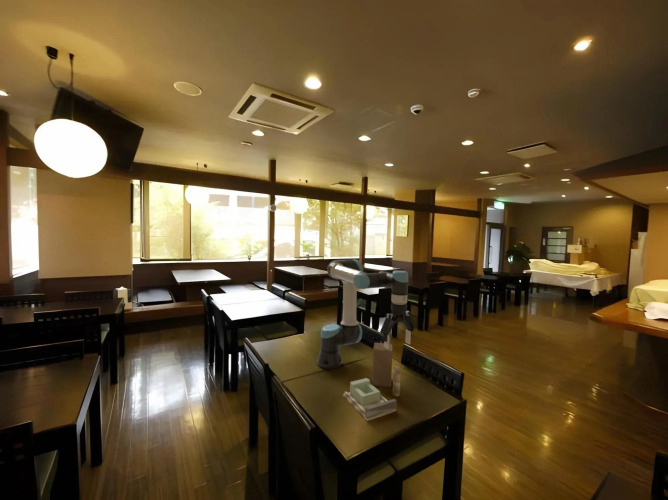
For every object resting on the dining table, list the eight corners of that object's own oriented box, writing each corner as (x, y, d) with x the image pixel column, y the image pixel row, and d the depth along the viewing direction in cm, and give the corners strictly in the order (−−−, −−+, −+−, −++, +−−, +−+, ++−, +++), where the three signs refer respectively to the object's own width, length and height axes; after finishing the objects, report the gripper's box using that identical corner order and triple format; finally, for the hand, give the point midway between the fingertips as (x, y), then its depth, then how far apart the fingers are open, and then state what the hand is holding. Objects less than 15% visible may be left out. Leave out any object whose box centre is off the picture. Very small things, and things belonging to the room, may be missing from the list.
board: (343, 395, 140) (343, 386, 139) (369, 388, 147) (369, 379, 147) (367, 421, 121) (367, 409, 121) (395, 411, 129) (396, 400, 128)
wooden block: (391, 388, 148) (392, 351, 147) (372, 385, 150) (373, 349, 149) (391, 378, 158) (392, 343, 157) (373, 376, 160) (374, 342, 159)
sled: (349, 393, 140) (350, 382, 139) (366, 389, 144) (366, 377, 144) (362, 406, 130) (362, 393, 130) (379, 400, 135) (379, 388, 134)
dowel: (390, 393, 143) (391, 366, 142) (396, 391, 145) (397, 365, 144) (395, 397, 140) (396, 369, 139) (401, 395, 141) (402, 368, 141)
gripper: (383, 307, 127) (381, 353, 128) (423, 302, 139) (421, 344, 140) (373, 303, 133) (372, 346, 134) (412, 298, 145) (410, 338, 146)
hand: (397, 345), depth 137 cm, fingers open, 13 cm apart
